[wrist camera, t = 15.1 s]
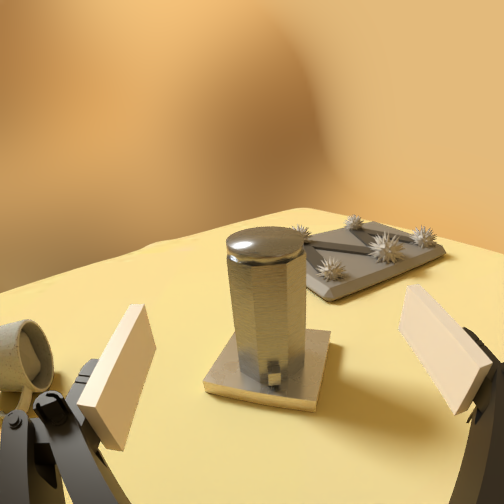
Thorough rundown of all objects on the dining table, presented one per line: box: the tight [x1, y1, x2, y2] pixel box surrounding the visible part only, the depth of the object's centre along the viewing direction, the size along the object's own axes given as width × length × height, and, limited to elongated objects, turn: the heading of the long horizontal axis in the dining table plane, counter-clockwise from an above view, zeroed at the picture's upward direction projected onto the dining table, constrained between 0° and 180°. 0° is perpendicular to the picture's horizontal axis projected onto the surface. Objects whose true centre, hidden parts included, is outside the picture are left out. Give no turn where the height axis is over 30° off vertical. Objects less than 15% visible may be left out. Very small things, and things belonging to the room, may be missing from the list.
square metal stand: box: [203, 329, 331, 412], centre depth 26 cm, size 10×10×10 cm
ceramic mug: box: [0, 319, 54, 419], centre depth 22 cm, size 11×8×8 cm
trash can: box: [226, 227, 306, 386], centre depth 25 cm, size 8×6×12 cm
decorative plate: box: [292, 215, 446, 302], centre depth 52 cm, size 30×22×7 cm
